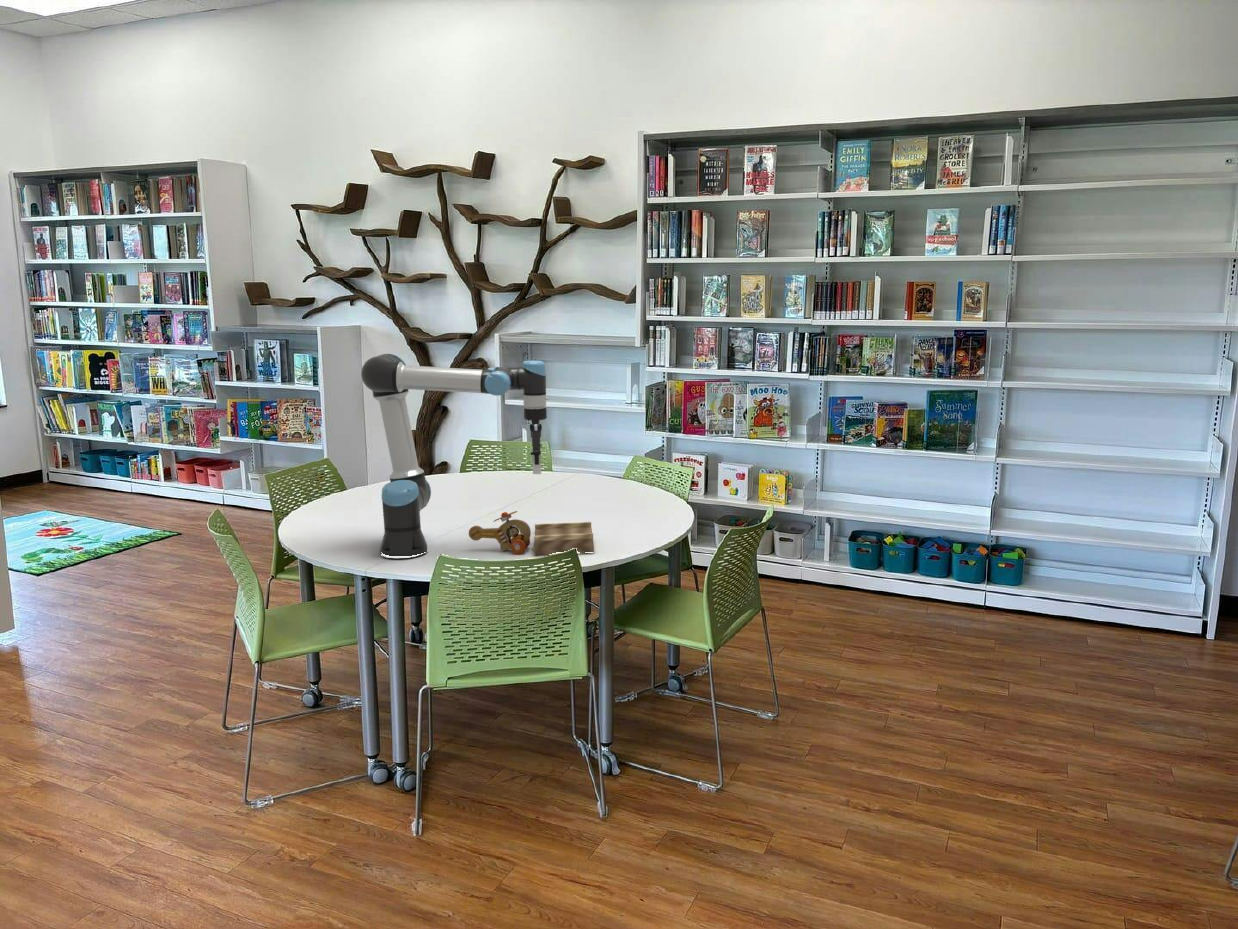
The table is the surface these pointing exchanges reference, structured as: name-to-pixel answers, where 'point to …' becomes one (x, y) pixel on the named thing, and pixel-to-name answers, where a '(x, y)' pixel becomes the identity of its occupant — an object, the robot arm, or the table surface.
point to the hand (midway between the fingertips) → (536, 470)
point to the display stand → (563, 538)
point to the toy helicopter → (505, 534)
